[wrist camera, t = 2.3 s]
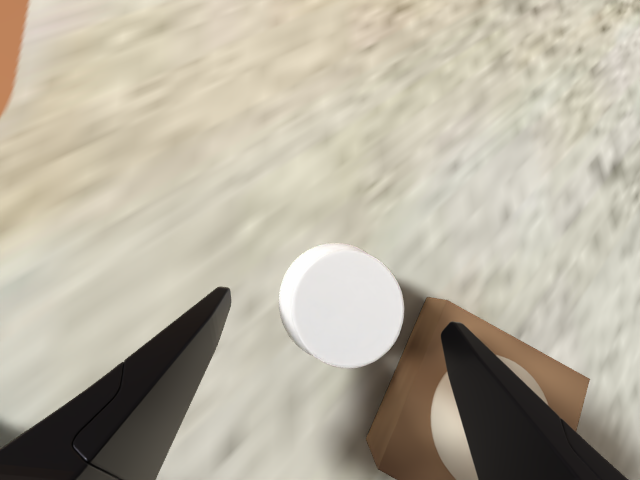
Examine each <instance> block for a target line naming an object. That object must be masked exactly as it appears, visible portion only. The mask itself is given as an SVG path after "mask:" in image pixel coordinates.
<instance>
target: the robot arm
mask: <svg viewBox="0 0 640 480" xmlns="http://www.w3.org/2000/svg"><path fill="white" fill-rule="evenodd" d="M230 307H231V293H230V289H229V288H227V287H217V288H216V289H215V290H213V291H212V292H211V293H210V294H208V295H207V296H206V297H205V298H203V299H202V300H201V301H199V302H198V303H197V304H196V305H194V306H193V307H192V308H191V309H189V310H188V311H187V312H185V313H184V314H183V315H182V316H180V317H179V318H178V319H176V320H175V321H174V322H173V323H171V324H170V325H169V326H168V327H166V328H165V329H164V330H162V331H161V332H160V333H159V334H157V335H156V336H155V337H154V338H152V339H151V340H150V341H148V342H147V343H146V344H145V345H143V346H142V347H141V348H140V349H138V350H137V351H136V352H134V353H133V354H132V355H131V356H129V357H128V358H127V359H125V361H124V362H122V363H120V364H119V365H118V366H116V367H115V368H114V369H113V370H111V371H110V372H109V373H107V374H106V375H105V376H103V377H102V378H101V379H99V380H98V381H97V382H96V383H94V384H93V385H92V386H90V387H89V388H88V389H86V390H85V391H83V392H82V393H81V394H79V395H78V396H76V397H75V398H73V399H72V400H71V401H69V402H68V403H66V404H65V405H64V406H62V407H61V408H59V409H58V410H56V411H55V412H53V413H52V414H51V415H49V416H48V417H46V418H45V419H43V420H42V421H40V422H39V423H37V424H36V425H35V426H33V427H32V428H30V429H29V430H27V431H26V432H24V433H23V434H21V435H20V436H18V437H17V438H16V439H14V440H13V441H11V442H10V443H8V444H7V445H5V446H4V447H2V448H1V449H0V480H155V479H156V477H157V475H158V473H159V471H160V469H161V466H162V464H163V462H164V460H165V458H166V456H167V453H168V451H169V449H170V447H171V445H172V443H173V440H174V438H175V436H176V434H177V432H178V430H179V428H180V425H181V423H182V421H183V419H184V417H185V415H186V412H187V410H188V408H189V406H190V404H191V402H192V399H193V397H194V395H195V393H196V391H197V389H198V386H199V384H200V382H201V380H202V378H203V376H204V373H205V371H206V369H207V367H208V365H209V363H210V360H211V358H212V356H213V354H214V352H215V350H216V347H217V345H218V342H219V339H220V336H221V334H222V331H223V328H224V325H225V322H226V319H227V316H228V313H229V310H230ZM441 342H442V347H443V352H444V358H445V363H446V368H447V373H448V377H449V381H450V384H451V388H452V391H453V395H454V398H455V401H456V405H457V408H458V412H459V415H460V419H461V422H462V425H463V429H464V432H465V436H466V439H467V443H468V446H469V449H470V453H471V456H472V460H473V463H474V466H475V470H476V473H477V477H478V480H628V479H627V478H626V477H625V476H623V475H622V474H621V473H620V472H619V471H618V470H617V469H616V468H614V467H613V466H612V465H611V464H610V463H609V462H608V461H607V460H606V459H604V458H603V457H602V456H601V455H600V454H599V453H598V452H597V451H596V450H595V449H593V448H592V447H591V446H590V445H589V444H588V443H587V442H586V441H585V440H584V439H583V438H582V437H581V436H580V435H579V434H578V433H576V432H575V431H574V430H573V429H572V428H571V427H570V426H569V425H568V424H567V423H566V422H565V421H564V420H563V419H562V418H560V417H559V415H558V414H557V413H556V412H555V411H553V410H552V409H551V408H550V407H549V406H548V405H547V404H546V403H545V402H544V401H543V400H542V399H541V398H540V397H539V396H538V395H537V394H536V393H535V392H534V391H533V390H532V389H531V388H530V387H528V386H527V385H526V384H525V383H524V382H523V381H522V380H521V379H520V378H519V377H518V376H517V375H516V374H515V373H514V372H513V371H512V370H511V369H510V368H509V367H508V366H507V365H506V364H505V363H503V362H502V361H501V360H500V359H499V358H498V357H497V356H496V355H495V354H494V353H493V352H492V351H491V350H490V349H489V348H488V347H487V346H486V345H485V344H484V343H483V342H482V341H481V340H480V339H479V338H477V337H476V336H475V335H474V334H473V333H472V332H471V331H470V330H469V329H468V328H467V327H466V326H465V325H464V324H463V323H460V322H454V321H452V322H450V323H449V324H448V325H447V326H446V327H445V328H444V330H443V331H442V332H441Z"/></svg>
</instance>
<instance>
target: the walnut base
mask: <svg viewBox="0 0 640 480" xmlns="http://www.w3.org/2000/svg"><path fill="white" fill-rule="evenodd" d="M452 321H454V322H460V323H463V324H464V325H465V326H466V327H467V328H468V329H469V330H470V331H471V332H472V333H473V334H474V335H475V336H476V337H477V338H479V339H480V340H481V341H482V342H483V343H484V344H485V345H486V346H487V347H488V348H489V349H490V350H491V351H492V352H493V353H494V354H495V355H496V356H497V357H498V358H499V359H500V360H501V361H502V362H503V363H505V364H506V365H507V366H508V367H509V368H510V369H511V370H512V371H513V372H514V373H515V374H516V375H517V376H518V377H519V378H520V379H521V380H522V381H523V382H524V383H525V384H526V385H527V386H528V387H530V388H531V389H532V390H533V391H534V392H535V393H536V394H537V395H538V396H539V397H540V398H541V399H542V400H543V401H544V402H545V403H546V404H547V405H548V406H549V407H550V408H551V409H552V410H553V411H555V412H556V413H557V414H558V415H559V417H560V418H562V419H563V420H564V421H565V422H566V423H567V424H568V425H569V426H570V427H571V428H572V429H573V430H574V431H575V432H576V430H577V426H578V422H579V418H580V414H581V411H582V407H583V403H584V399H585V395H586V392H587V388H588V384H589V380H590V379H589V378H587V377H585V376H583V375H582V374H580V373H578V372H576V371H574V370H572V369H571V368H569V367H567V366H565V365H563V364H562V363H560V362H558V361H556V360H554V359H553V358H551V357H549V356H547V355H545V354H544V353H542V352H540V351H538V350H536V349H535V348H533V347H531V346H529V345H527V344H526V343H524V342H522V341H520V340H518V339H516V338H515V337H513V336H511V335H509V334H507V333H506V332H504V331H502V330H500V329H498V328H497V327H495V326H493V325H491V324H489V323H488V322H486V321H484V320H482V319H480V318H479V317H477V316H475V315H473V314H471V313H469V312H468V311H466V310H464V309H462V308H460V307H459V306H457V305H455V304H453V303H451V302H450V301H448V300H443V299H437V298H430V297H427V298H426V300H425V303H424V305H423V307H422V310H421V312H420V314H419V317H418V319H417V321H416V324H415V326H414V328H413V331H412V333H411V335H410V338H409V340H408V342H407V345H406V347H405V349H404V352H403V354H402V356H401V358H400V361H399V363H398V365H397V368H396V370H395V372H394V375H393V377H392V379H391V382H390V384H389V386H388V389H387V391H386V393H385V396H384V398H383V400H382V403H381V405H380V407H379V410H378V412H377V414H376V417H375V419H374V421H373V424H372V426H371V428H370V431H369V433H368V435H367V438H366V441H367V443H368V446H369V448H370V451H371V453H372V456H373V458H374V461H375V463H376V466H377V468H378V469H379V470H381V471H382V472H384V473H386V474H388V475H389V476H391V477H393V478H395V479H397V480H478V477H477V473H476V470H475V466H474V463H473V460H472V456H471V453H470V449H469V446H468V443H467V439H466V436H465V432H464V429H463V425H462V422H461V419H460V415H459V412H458V408H457V405H456V401H455V398H454V395H453V391H452V388H451V384H450V381H449V377H448V373H447V368H446V363H445V358H444V352H443V347H442V342H441V332H442V331H443V330H444V328H445V327H446V326H447V325H448V324H449V323H450V322H452Z"/></svg>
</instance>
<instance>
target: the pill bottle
mask: <svg viewBox="0 0 640 480" xmlns="http://www.w3.org/2000/svg"><path fill="white" fill-rule="evenodd" d="M279 310H280V316H281V319H282V323H283V325H284V328H285V330H286V331H287V333H288V335H289V336H290V338H291V339H292V340H293V341H294V342H295V343H296V345H297V346H299V347H300V348H301V349H302V350H304V351H305V352H307V353H308V354H310V355H312V356H315V357H316V358H317V359H319V360H321V361H322V362H324V363H326V364H329V365H332V366H335V367H340V368H358V367H362V366H366V365H368V364H371V363H373V362H375V361H376V360H378V359H379V358H381V357H382V356H383V355H384V354H386V353H387V352H388V351H389V349H390V348H391V347H392V346H393V345H394V343H395V342H396V340H397V338H398V336H399V334H400V331H401V328H402V324H403V319H404V301H403V295H402V291H401V289H400V286H399V284H398V282H397V280H396V278H395V276H394V275H393V273H392V272H391V271H390V270H389V268H388V267H387V266H386V265H385V264H383V263H382V262H381V261H380V260H378V259H377V258H375V257H373V256H371V255H369V254H368V253H367V252H365V251H363V250H362V249H360V248H358V247H355V246H352V245H349V244H343V243H328V244H322V245H319V246H316V247H313V248H311V249H309V250H307V251H306V252H304V253H303V254H301V255H300V256H299V257H298V258H297V259H296V260H295V261H294V262H293V263H292V264H291V266H290V267H289V269H288V270H287V272H286V274H285V276H284V278H283V281H282V284H281V288H280V293H279Z"/></svg>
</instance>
